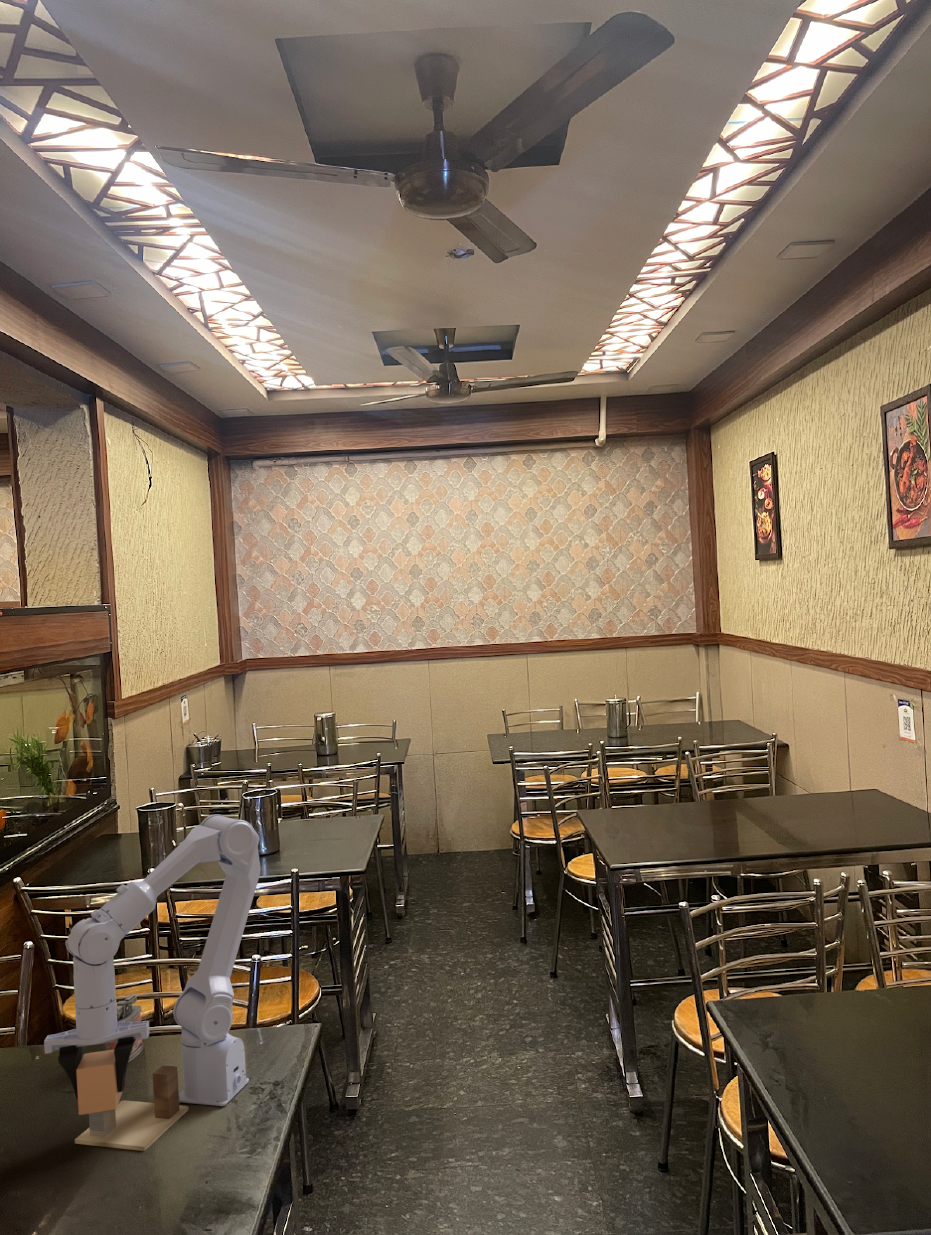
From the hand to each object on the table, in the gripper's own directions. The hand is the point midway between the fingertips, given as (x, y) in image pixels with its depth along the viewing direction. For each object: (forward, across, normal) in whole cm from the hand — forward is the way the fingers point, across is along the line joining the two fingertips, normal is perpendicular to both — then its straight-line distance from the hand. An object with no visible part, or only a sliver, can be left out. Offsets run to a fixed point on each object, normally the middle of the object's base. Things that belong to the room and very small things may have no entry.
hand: (100, 1092), depth 132 cm
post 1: (+6, 0, 0) cm, 6 cm away
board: (+6, -4, -1) cm, 8 cm away
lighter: (+7, +1, -26) cm, 27 cm away
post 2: (+6, -9, -2) cm, 11 cm away
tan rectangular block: (+2, 0, 0) cm, 2 cm away
